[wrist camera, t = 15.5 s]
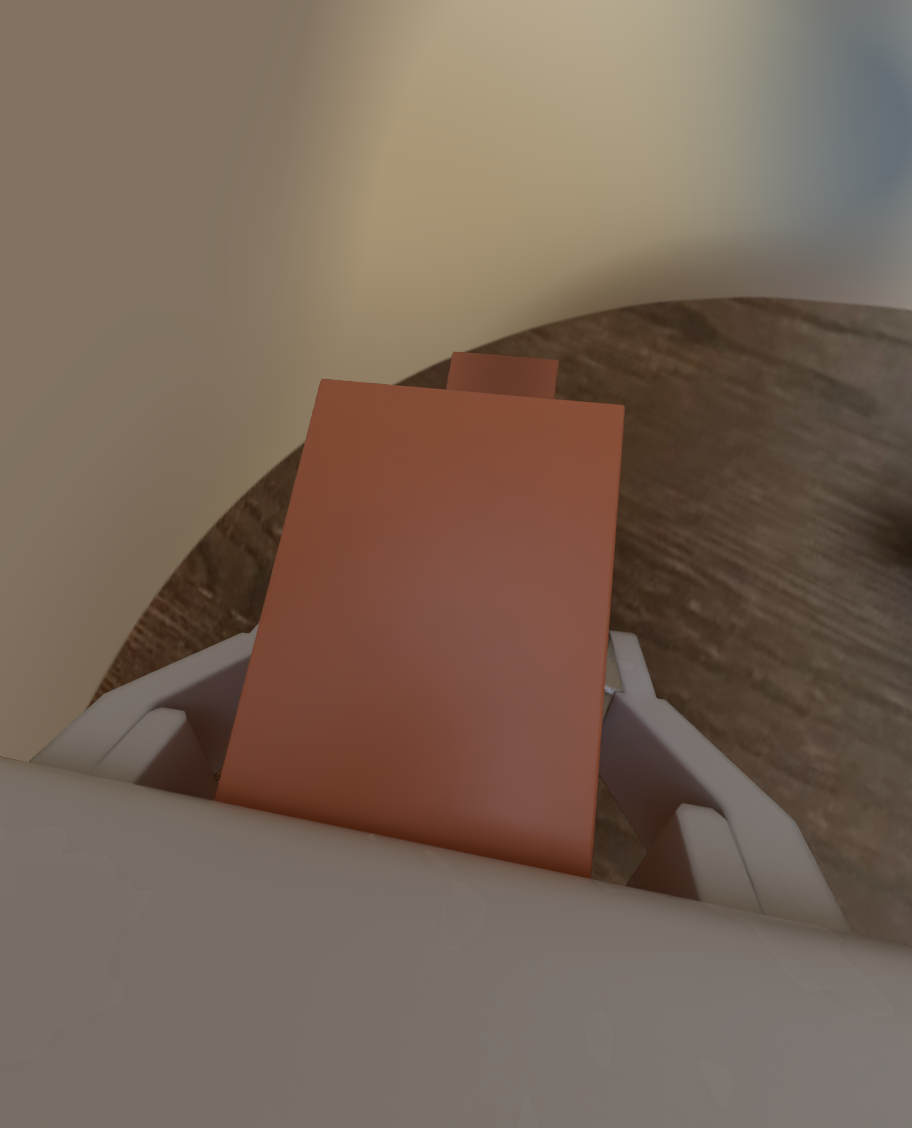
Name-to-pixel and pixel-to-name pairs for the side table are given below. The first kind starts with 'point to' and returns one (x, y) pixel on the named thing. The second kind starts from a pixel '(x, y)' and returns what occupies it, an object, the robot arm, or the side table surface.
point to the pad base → (503, 375)
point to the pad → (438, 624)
